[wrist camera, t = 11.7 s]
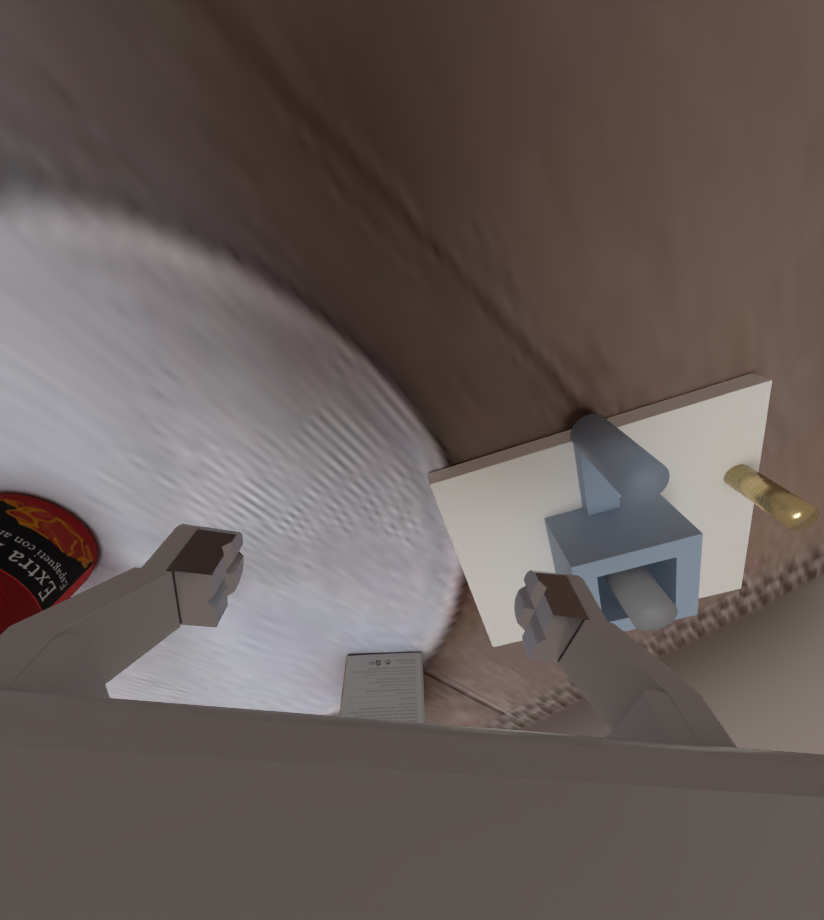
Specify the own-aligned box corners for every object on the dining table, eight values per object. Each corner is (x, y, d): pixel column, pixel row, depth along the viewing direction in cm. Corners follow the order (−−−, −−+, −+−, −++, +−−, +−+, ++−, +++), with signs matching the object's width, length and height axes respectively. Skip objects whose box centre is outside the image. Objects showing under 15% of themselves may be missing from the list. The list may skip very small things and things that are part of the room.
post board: (428, 473, 22) (439, 554, 16) (752, 372, 19) (904, 425, 14) (489, 633, 29) (512, 727, 24) (727, 575, 27) (818, 664, 21)
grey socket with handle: (526, 434, 19) (563, 486, 15) (651, 394, 19) (728, 438, 14) (558, 587, 25) (592, 656, 21) (654, 562, 24) (710, 630, 20)
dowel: (724, 468, 21) (789, 511, 17) (750, 461, 21) (822, 503, 17) (722, 487, 22) (785, 533, 18) (748, 480, 21) (816, 525, 18)
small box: (345, 653, 30) (313, 894, 19) (422, 650, 30) (436, 888, 19) (354, 706, 34) (332, 931, 23) (422, 703, 34) (434, 926, 23)
